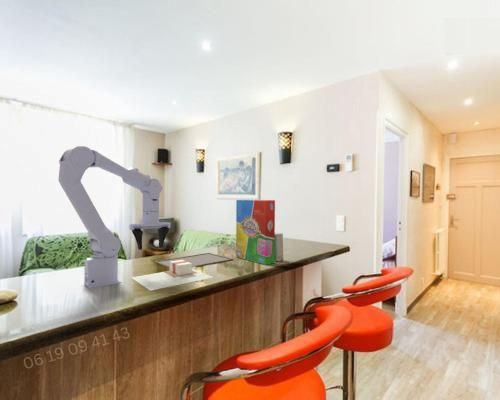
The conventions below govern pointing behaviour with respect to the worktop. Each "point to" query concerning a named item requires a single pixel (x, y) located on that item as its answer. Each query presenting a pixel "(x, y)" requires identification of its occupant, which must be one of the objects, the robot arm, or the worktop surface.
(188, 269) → the card box
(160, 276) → the mat
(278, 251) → the skincare box
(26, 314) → the worktop surface
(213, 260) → the picture frame
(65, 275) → the worktop surface
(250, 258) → the game box
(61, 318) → the worktop surface
